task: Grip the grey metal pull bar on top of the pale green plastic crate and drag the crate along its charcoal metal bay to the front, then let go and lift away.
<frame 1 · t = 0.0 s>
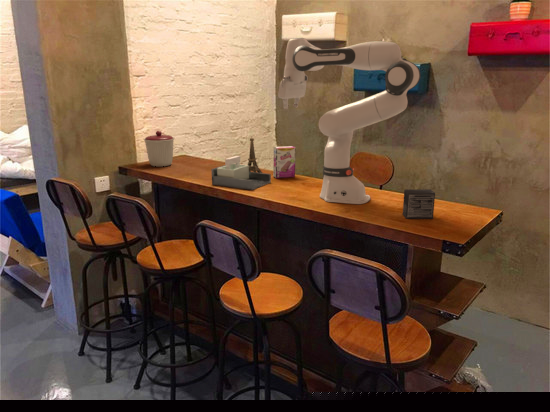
hand: (290, 108, 205), 39 cm above the table, tool pointing down, fingers open, 8 cm apart
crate: (233, 168, 231), point 7 cm above the table, slide at 0.0 cm
candy bar box: (284, 177, 246), on the table
canister: (161, 165, 278), on the table
small box: (417, 217, 177), on the table
bay: (241, 183, 231), on the table
eiffel tower: (252, 176, 247), on the table
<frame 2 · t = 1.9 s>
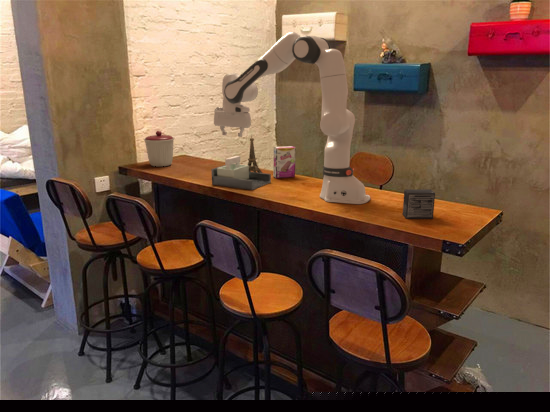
hand: (232, 135, 227), 24 cm above the table, tool pointing down, fingers open, 8 cm apart
nothing on the table moved.
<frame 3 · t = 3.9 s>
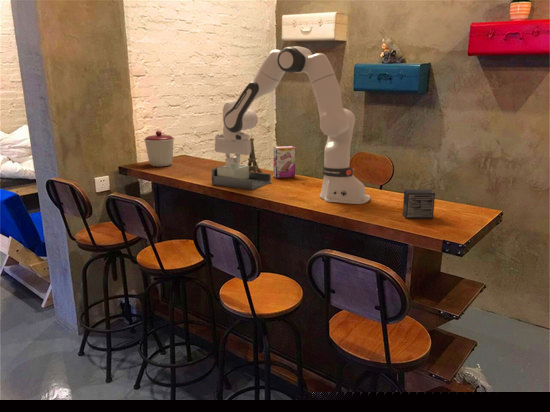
hand: (232, 162, 230), 11 cm above the table, tool pointing down, fingers closed on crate, 2 cm apart
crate: (233, 168, 231), point 7 cm above the table, slide at 0.0 cm, touching gripper
everything else where it was.
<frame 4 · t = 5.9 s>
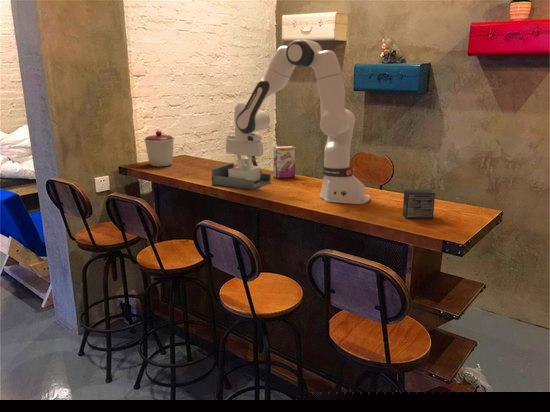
hand: (244, 163, 227), 10 cm above the table, tool pointing down, fingers closed on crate, 2 cm apart
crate: (244, 170, 228), point 7 cm above the table, slide at 6.9 cm, touching gripper
everything else where it was.
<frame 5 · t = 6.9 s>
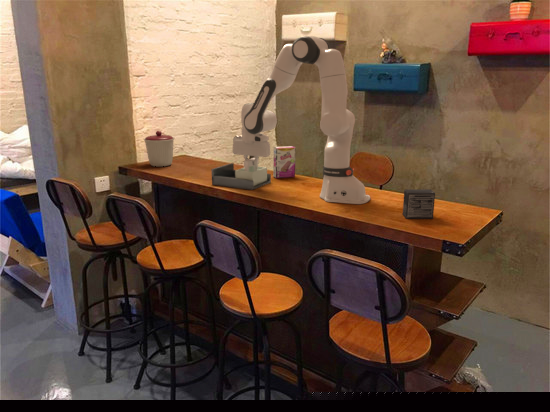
hand: (251, 164, 225), 10 cm above the table, tool pointing down, fingers closed on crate, 2 cm apart
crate: (251, 171, 226), point 7 cm above the table, slide at 11.0 cm, touching gripper
everything else where it was.
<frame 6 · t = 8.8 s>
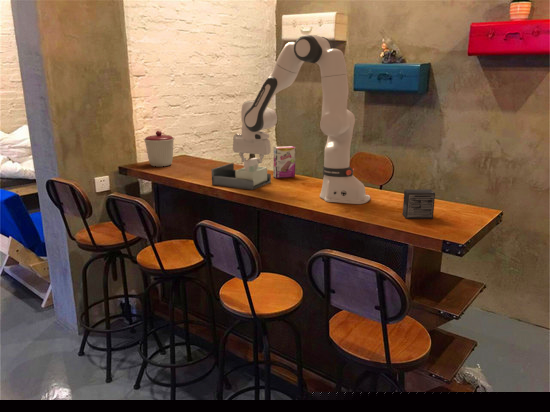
hand: (251, 162, 225), 11 cm above the table, tool pointing down, fingers open, 8 cm apart
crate: (251, 171, 226), point 7 cm above the table, slide at 11.1 cm
everything else where it was.
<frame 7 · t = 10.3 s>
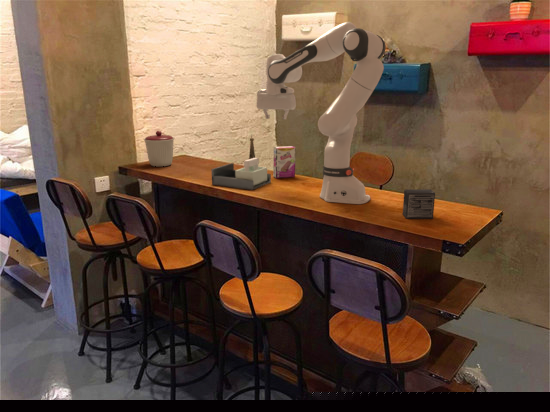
hand: (276, 118, 221), 33 cm above the table, tool pointing down, fingers open, 8 cm apart
nothing on the table moved.
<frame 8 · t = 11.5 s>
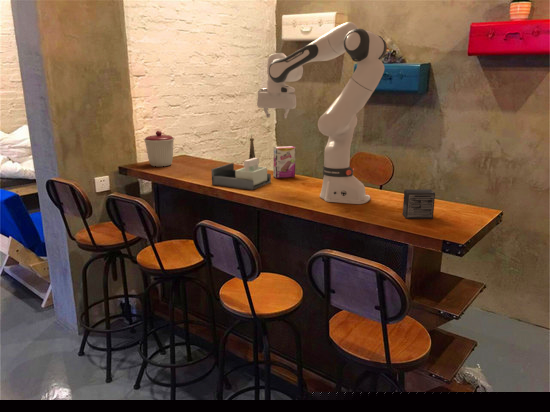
hand: (276, 117, 221), 33 cm above the table, tool pointing down, fingers open, 8 cm apart
nothing on the table moved.
at the end: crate slide at 11.1 cm; the gripper is holding nothing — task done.
